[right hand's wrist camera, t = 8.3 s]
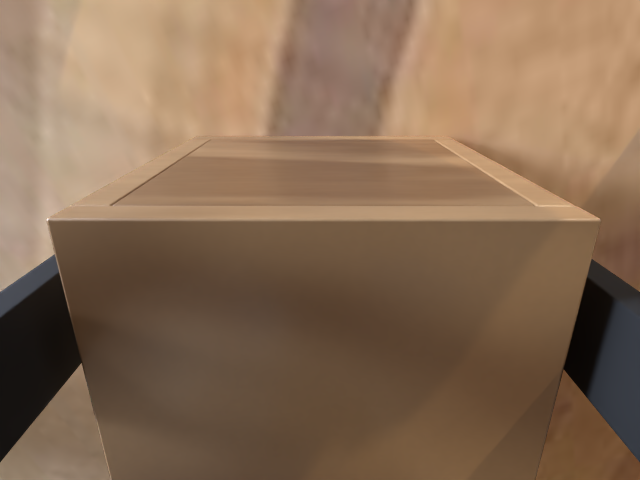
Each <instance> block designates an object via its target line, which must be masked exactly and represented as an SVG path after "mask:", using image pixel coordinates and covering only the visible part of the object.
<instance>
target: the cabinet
mask: <svg viewBox="0 0 640 480" xmlns="http://www.w3.org/2000/svg"><path fill="white" fill-rule="evenodd" d="M47 224H48V228H49V233H50V237H51V241H52V245H53V249H54V253H55V257H56V261H57V265H58V269H59V273H60V277H61V281H62V285H63V289H64V293H65V297H66V301H67V305H68V309H69V313H70V317H71V321H72V325H73V329H74V333H75V337H76V341H77V345H78V349H79V354H80V358H81V362H82V366H83V370H84V374H85V378H86V382H87V386H88V390H89V394H90V398H91V402H92V406H93V410H94V414H95V418H96V422H97V426H98V430H99V434H100V438H101V442H102V446H103V450H104V454H105V458H106V462H107V466H108V471H109V475H110V479H111V480H535V479H536V475H537V471H538V467H539V463H540V459H541V455H542V451H543V447H544V443H545V439H546V435H547V432H548V428H549V424H550V420H551V416H552V412H553V408H554V404H555V400H556V396H557V392H558V388H559V384H560V381H561V377H562V373H563V369H564V365H565V361H566V357H567V353H568V349H569V345H570V341H571V337H572V333H573V330H574V326H575V322H576V318H577V314H578V310H579V306H580V302H581V298H582V294H583V290H584V286H585V283H586V279H587V275H588V271H589V267H590V263H591V259H592V255H593V251H594V247H595V243H596V239H597V235H598V232H599V228H600V224H601V219H600V218H598V217H596V216H594V215H592V214H591V213H589V212H587V211H585V210H583V209H581V208H579V207H577V206H575V205H573V204H571V203H570V202H568V201H566V200H564V199H562V198H560V197H559V196H557V195H555V194H553V193H551V192H549V191H548V190H546V189H544V188H542V187H540V186H538V185H537V184H535V183H533V182H531V181H529V180H527V179H526V178H524V177H522V176H520V175H518V174H516V173H515V172H513V171H511V170H509V169H507V168H505V167H504V166H502V165H500V164H498V163H496V162H494V161H493V160H491V159H489V158H487V157H485V156H483V155H482V154H480V153H478V152H476V151H474V150H472V149H471V148H469V147H467V146H465V145H463V144H461V143H460V142H458V141H456V140H454V139H453V138H451V137H449V136H195V137H194V138H192V139H190V140H188V141H186V142H184V143H183V144H181V145H179V146H177V147H175V148H173V149H172V150H170V151H168V152H166V153H164V154H163V155H161V156H159V157H157V158H155V159H154V160H152V161H150V162H148V163H146V164H145V165H143V166H141V167H139V168H137V169H136V170H134V171H132V172H130V173H128V174H126V175H125V176H123V177H121V178H119V179H117V180H116V181H114V182H112V183H110V184H108V185H107V186H105V187H103V188H101V189H99V190H98V191H96V192H94V193H92V194H90V195H88V196H87V197H85V198H83V199H81V200H79V201H78V202H76V203H74V204H72V205H71V206H69V207H67V208H65V209H64V210H62V211H60V212H58V213H56V214H55V215H53V216H51V217H49V218H47Z"/></svg>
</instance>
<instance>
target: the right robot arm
mask: <svg viewBox="0 0 640 480" xmlns="http://www.w3.org/2000/svg"><path fill="white" fill-rule="evenodd" d="M81 363H82V362H81V358H80V354H79V349H78V345H77V341H76V337H75V333H74V329H73V325H72V321H71V317H70V313H69V309H68V305H67V301H66V297H65V293H64V289H63V285H62V281H61V277H60V273H59V269H58V265H57V261H56V257H55V255H53V256H52V257H50V258H49V259H47V260H46V261H44V262H43V263H42V264H40V265H39V266H37V267H36V268H34V269H33V270H31V271H30V272H29V273H27V274H26V275H24V276H23V277H21V278H20V279H18V280H17V281H16V282H14V283H13V284H11V285H10V286H8V287H7V288H5V289H4V290H3V291H1V292H0V462H1V461H2V459H3V458H4V457H5V456H6V455H7V453H8V452H9V451H10V450H11V448H12V447H13V446H14V445H15V444H16V442H17V441H18V440H19V439H20V437H21V436H22V435H23V434H24V433H25V431H26V430H27V429H28V428H29V426H30V425H31V424H32V423H33V421H34V420H35V419H36V418H37V417H38V415H39V414H40V413H41V412H42V410H43V409H44V408H45V407H46V406H47V404H48V403H49V402H50V401H51V399H52V398H53V397H54V396H55V395H56V393H57V392H58V391H59V390H60V388H61V387H62V386H63V385H64V384H65V382H66V381H67V380H68V379H69V377H70V376H71V375H72V374H73V373H74V371H75V370H76V369H77V368H78V366H79V365H80V364H81ZM564 370H565V371H566V373H567V374H568V375H569V376H570V377H571V379H572V380H573V381H574V382H575V384H576V385H577V386H578V387H579V388H580V390H581V391H582V392H583V393H584V395H585V396H586V397H587V398H588V399H589V401H590V402H591V403H592V404H593V406H594V407H595V408H596V409H597V410H598V412H599V413H600V414H601V415H602V417H603V418H604V419H605V420H606V421H607V423H608V424H609V425H610V426H611V428H612V429H613V430H614V431H615V433H616V434H617V435H618V436H619V437H620V439H621V440H622V441H623V442H624V444H625V445H626V446H627V447H628V448H629V450H630V451H631V452H632V453H633V455H634V456H635V457H636V458H637V459H638V461H639V462H640V292H639V291H637V290H636V289H635V288H633V287H632V286H630V285H629V284H627V283H626V282H624V281H623V280H622V279H620V278H619V277H617V276H616V275H614V274H613V273H611V272H610V271H609V270H607V269H606V268H604V267H603V266H601V265H600V264H598V263H597V262H596V261H594V260H593V259H591V263H590V267H589V271H588V275H587V279H586V283H585V286H584V290H583V294H582V298H581V302H580V306H579V310H578V314H577V318H576V322H575V326H574V330H573V333H572V337H571V341H570V345H569V349H568V353H567V357H566V361H565V365H564Z"/></svg>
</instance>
